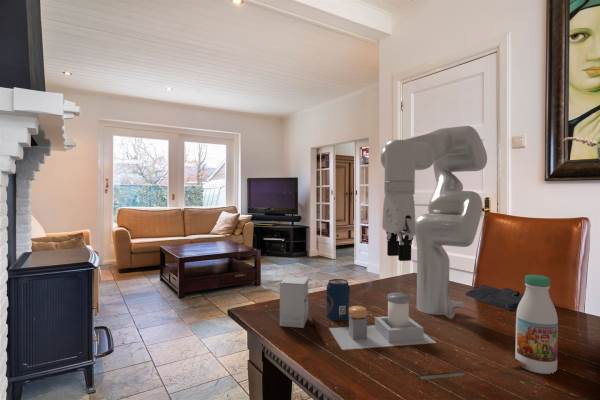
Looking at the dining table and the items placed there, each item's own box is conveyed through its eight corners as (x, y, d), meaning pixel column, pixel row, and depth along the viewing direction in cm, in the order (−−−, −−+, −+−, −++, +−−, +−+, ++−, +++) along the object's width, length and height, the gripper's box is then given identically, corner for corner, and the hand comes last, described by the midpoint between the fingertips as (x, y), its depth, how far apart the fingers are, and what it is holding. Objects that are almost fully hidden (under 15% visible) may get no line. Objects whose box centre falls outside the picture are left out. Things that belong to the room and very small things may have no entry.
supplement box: (304, 328, 99) (304, 284, 99) (278, 326, 100) (278, 282, 100) (308, 319, 106) (309, 277, 106) (285, 317, 108) (285, 276, 107)
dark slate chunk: (492, 291, 137) (492, 279, 137) (548, 309, 116) (548, 295, 116) (461, 295, 132) (461, 282, 132) (514, 314, 111) (515, 300, 111)
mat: (438, 353, 84) (438, 351, 84) (464, 375, 74) (464, 372, 74) (398, 356, 82) (398, 354, 82) (420, 379, 72) (420, 376, 72)
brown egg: (363, 326, 92) (363, 305, 92) (368, 333, 88) (369, 311, 88) (346, 327, 91) (346, 306, 91) (352, 334, 87) (352, 312, 87)
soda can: (323, 318, 107) (323, 279, 106) (344, 316, 109) (344, 277, 108) (330, 326, 100) (331, 284, 100) (353, 324, 102) (353, 283, 102)
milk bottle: (507, 358, 81) (508, 272, 81) (538, 357, 82) (540, 272, 81) (532, 376, 73) (533, 281, 73) (566, 374, 74) (568, 280, 74)
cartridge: (403, 329, 95) (403, 292, 94) (412, 337, 89) (413, 298, 89) (384, 330, 94) (384, 293, 93) (392, 338, 88) (393, 299, 88)
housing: (411, 328, 99) (411, 305, 99) (436, 348, 86) (436, 322, 86) (328, 333, 95) (328, 309, 95) (342, 356, 82) (342, 328, 82)
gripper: (373, 188, 98) (372, 252, 99) (400, 188, 81) (399, 265, 82) (398, 188, 100) (397, 251, 100) (430, 188, 83) (429, 264, 83)
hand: (398, 257), depth 91 cm, fingers open, 6 cm apart
